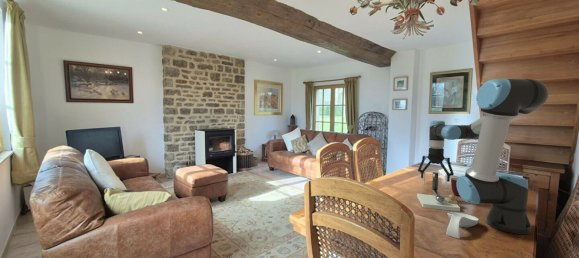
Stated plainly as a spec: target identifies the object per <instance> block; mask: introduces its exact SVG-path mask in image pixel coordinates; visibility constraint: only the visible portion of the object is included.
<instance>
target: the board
mask: <svg viewBox="0 0 579 258" xmlns="http://www.w3.org/2000/svg"><path fill="white" fill-rule="evenodd" d="M416 194H417V196H416V197H417V199H418V201H419V203H420V205H421V208H424V209H434V210H443V211H451V212H458V213H461V206H459V205H458V201H457V200H456V196H455V195H454V194H452V193H451V194H449V195H448V196H444V195H442V196H443V197H445V199H444V201H438V200H436V196H435V194H423V193H416Z"/></svg>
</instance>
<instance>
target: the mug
mask: <svg viewBox="0 0 579 258" xmlns="http://www.w3.org/2000/svg"><path fill="white" fill-rule="evenodd" d="M458 178H459V177H451V178H450V184H451V191H452V193H453V195H454V196H455V197H461V196H460V195H459V193H458V190H457V179H458Z"/></svg>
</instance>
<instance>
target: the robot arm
mask: <svg viewBox="0 0 579 258" xmlns="http://www.w3.org/2000/svg"><path fill="white" fill-rule="evenodd" d="M475 97H476V98H475V99H476V104H477V106H478V107H479V108H480V112H481V114H482V115H483V116H481V117H480V118H478V119H477V120H475V121H474V122H471V123H470V124H446V122H445V120H431V121H430V122H429V130H428V131H429V134H428V135H429V137H428V138H429V139H428V147H429V148H428V155H425V154H424V155H422V156H421V157H422V158H421V162H420V164H419V167H418V168H417V172H419V173H420V178H421V179H422V185H425V183H426V172H425V171H426V170H427V169H428V168H429V166H430V165H431V164H432V165H433V164H435V165H440V166H441V168H442V170H443V171H444V173H445V185H444V187H445V188H447V187H448V182H451V178H450V177H451V176H452V177H453V176H454V175H455V174H454V170H453V167H452V165H451V161H450V160H451V158H450V157H446V156H444V155H445V149H444V148H445V139H446V140H448V141H450V140H452V141H454V140H477V142H476V143H477V144H476V147H475V151H474V155H473V159H472V163H471V167H469V168H467V169H466V170H465V174H464V175H461V176H459V177H457V178H458V179H457V190H458V193H459V195H460V196H459V197H460V198H461V199H462V200H463V201H465V202H466V203H469V204H476V205H478V204H483V205H485V204H489V205H491V207H490V209H489V211H488V213H487V215H486V217H485V218H486V219H485V223H486V224H487V225H488V226H489V227H490V226H491V227H492V228H495V229H496V230H500V231H503V232H505V233H506V232H507V233H512V234H517V235H528V234H531V233H532V225H531V222H530V219H529V216H528V213H527V209H528V199H529V198H528V196H529V190H530V189H529V181H528V180H527V179H526V178H525V177H521V176H519V175H513V174H510V173H502V172H497V170H498V167H499V163H500V159H501V156H502V153H503V149H504V146H505V142H506V138H507V135H508V132H509V128H510V125H511V121H512V120H513V119H516V118H518V117H519V116H522V115H528V114H530V113H532V112H534V111H537V110H538V109H540V108H541V107H543V106H544V105H545V103H547V100H548V99H549V90H548V87H547V86H546V85H545V84H544V83H543V82H542V81H539V80H537V79H532V78H495V79H493V78H492V79H489V80H487V81H485V82H484V83H483V84H482V85H480V87H479V89H478V91H477V93H476V96H475ZM427 159H428V160H429V162H427V164H425V166H424V167H423V165H424V163H425V161H426V160H427ZM443 161H445V162H446V164H447V166H448V167H446V166H445V164H444V163H443ZM447 168H448V169H449V170H448V169H447Z"/></svg>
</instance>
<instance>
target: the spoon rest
mask: <svg viewBox="0 0 579 258" xmlns="http://www.w3.org/2000/svg"><path fill="white" fill-rule="evenodd" d="M447 217H448V219H449V220H450V221H449V223H448V226H447V227H446V228H447V229H446V232H445V234H446V236H448V237H452V238H455V239H460V238H461V234H460V227H462V228H470V227H474V226H476V225H477V224H478V223H479V222H480V219H479V218H478V217H476V216H474V215H470V214H467V213H461V212H457V211H451V212H447Z"/></svg>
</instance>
